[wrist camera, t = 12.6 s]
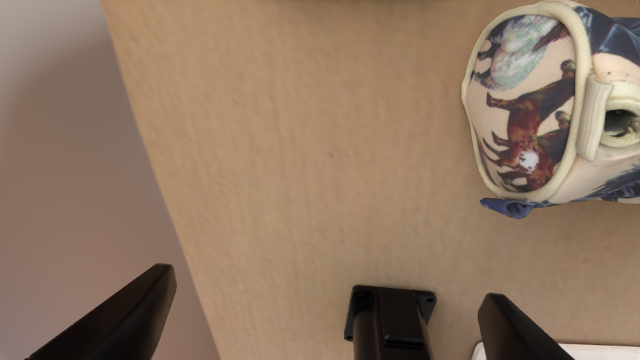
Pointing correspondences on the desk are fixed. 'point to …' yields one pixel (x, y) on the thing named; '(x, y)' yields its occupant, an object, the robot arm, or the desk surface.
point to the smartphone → (584, 352)
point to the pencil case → (555, 107)
